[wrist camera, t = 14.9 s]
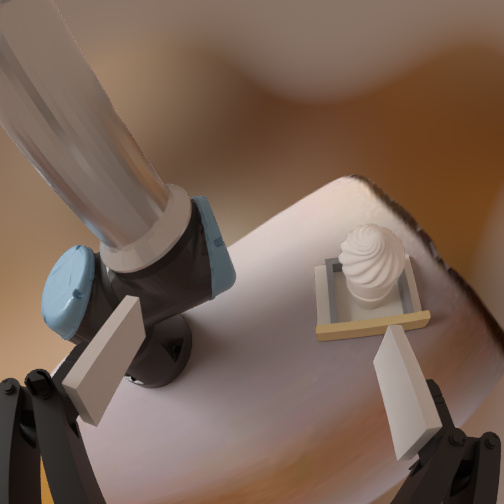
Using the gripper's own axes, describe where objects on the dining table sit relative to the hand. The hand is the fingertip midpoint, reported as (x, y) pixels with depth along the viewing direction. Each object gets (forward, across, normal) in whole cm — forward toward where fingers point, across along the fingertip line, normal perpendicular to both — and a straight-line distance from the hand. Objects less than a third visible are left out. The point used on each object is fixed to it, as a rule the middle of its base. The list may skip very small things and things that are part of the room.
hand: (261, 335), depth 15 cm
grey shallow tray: (+26, +16, -13) cm, 33 cm away
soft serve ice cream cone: (+25, +16, -13) cm, 32 cm away
